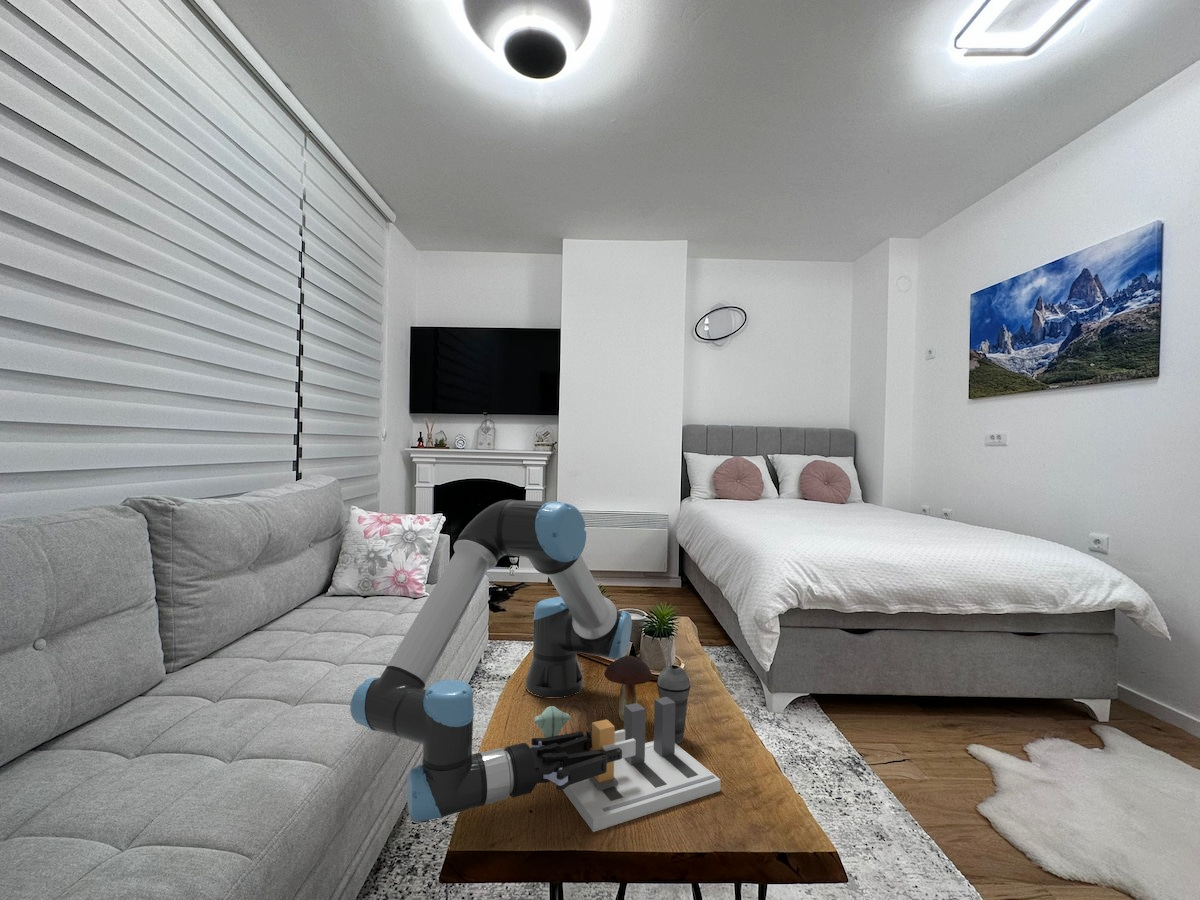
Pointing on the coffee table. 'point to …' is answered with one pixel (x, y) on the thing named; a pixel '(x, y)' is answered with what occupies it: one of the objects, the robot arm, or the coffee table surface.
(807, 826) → the coffee table surface
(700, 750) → the coffee table surface
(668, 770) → the slotted peg board
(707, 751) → the coffee table surface
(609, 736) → the breaker handle
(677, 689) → the beverage cup
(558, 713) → the green toy bird
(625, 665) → the decorative mushroom
